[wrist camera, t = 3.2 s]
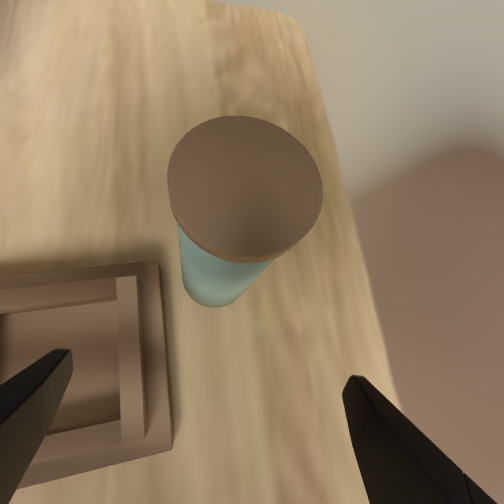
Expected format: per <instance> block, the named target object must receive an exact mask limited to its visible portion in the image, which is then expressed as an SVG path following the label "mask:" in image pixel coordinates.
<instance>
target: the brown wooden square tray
mask: <svg viewBox="0 0 504 504" xmlns="http://www.w3.org/2000/svg"><path fill="white" fill-rule="evenodd" d="M55 348H65V349H70V350H71V351H72V357H73V374H72V377H71V379H70V381H69V384H68V386H67V389H66V391H65V393H64V396H63V398H62V400H61V403H60V405H59V407H58V410H57V412H56V414H55V417H54V419H53V421H52V424H51V426H50V428H49V430H48V432H47V434H46V436H45V438H44V440H43V442H42V443H41V445H40V447H39V449H38V451H37V453H36V454H35V456H34V458H33V460H32V462H31V464H30V465H29V467H28V469H27V471H26V473H25V474H24V476H23V478H22V480H21V482H20V484H19V485H18V487H17V489H20V488H24V487H28V486H31V485H35V484H39V483H43V482H47V481H51V480H55V479H59V478H63V477H67V476H71V475H75V474H79V473H83V472H87V471H91V470H95V469H99V468H103V467H107V466H110V465H114V464H118V463H122V462H126V461H130V460H134V459H138V458H142V457H146V456H150V455H154V454H158V453H162V452H166V451H170V450H172V447H173V433H172V420H171V406H170V393H169V380H168V367H167V354H166V341H165V328H164V315H163V302H162V289H161V276H160V266H159V263H158V261H151V262H141V263H130V264H120V265H110V266H100V267H89V268H79V269H69V270H59V271H48V272H38V273H28V274H18V275H7V276H0V385H1V384H2V383H4V382H5V381H7V380H8V379H10V378H11V377H13V376H14V375H16V374H17V373H19V372H20V371H22V370H23V369H25V368H26V367H28V366H29V365H31V364H32V363H34V362H35V361H37V360H38V359H40V358H41V357H43V356H44V355H46V354H47V353H49V352H50V351H52V350H53V349H55Z"/></svg>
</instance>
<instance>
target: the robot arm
mask: <svg viewBox="0 0 504 504" xmlns="http://www.w3.org/2000/svg"><path fill="white" fill-rule="evenodd" d="M72 374H73V357H72V351H71V350H70V349H65V348H55V349H53V350H52V351H50V352H49V353H47V354H46V355H44V356H43V357H41V358H40V359H38V360H37V361H35V362H34V363H32V364H31V365H29V366H28V367H26V368H25V369H23V370H22V371H20V372H19V373H17V374H16V375H14V376H13V377H11V378H10V379H8V380H7V381H5V382H4V383H2V384H1V385H0V504H9V502H10V500H11V498H12V496H13V494H14V493H15V491H16V489H17V487H18V485H19V484H20V482H21V480H22V478H23V476H24V474H25V473H26V471H27V469H28V467H29V465H30V464H31V462H32V460H33V458H34V456H35V454H36V453H37V451H38V449H39V447H40V445H41V443H42V442H43V440H44V438H45V436H46V434H47V432H48V430H49V428H50V426H51V424H52V421H53V419H54V417H55V414H56V412H57V410H58V407H59V405H60V403H61V400H62V398H63V396H64V393H65V391H66V389H67V386H68V384H69V381H70V379H71V377H72ZM342 398H343V403H344V408H345V413H346V418H347V423H348V428H349V432H350V437H351V442H352V446H353V449H354V453H355V456H356V459H357V463H358V466H359V469H360V473H361V476H362V479H363V483H364V486H365V489H366V493H367V496H368V499H369V502H370V504H497V503H496V502H495V501H494V500H493V499H492V498H491V497H490V496H488V495H487V494H486V493H485V492H484V491H483V490H482V489H481V488H480V487H479V486H478V485H477V484H476V483H475V482H474V481H473V480H471V479H470V478H469V477H468V476H467V475H466V474H465V473H463V471H462V470H461V469H460V468H459V467H458V466H456V464H455V463H454V462H453V461H451V459H449V458H448V457H447V456H446V455H445V454H444V453H443V452H442V451H441V450H440V449H439V448H438V447H437V446H436V445H435V444H434V443H433V442H432V441H430V439H429V438H428V437H426V436H425V435H424V434H423V433H422V432H421V431H420V430H419V429H418V428H417V427H416V426H415V425H414V424H413V423H412V422H411V421H410V420H409V419H408V418H407V417H406V416H405V415H403V414H402V413H401V412H400V411H399V410H398V409H397V408H396V407H395V406H394V405H393V404H392V403H391V402H390V401H389V400H388V399H387V398H386V397H385V396H384V395H383V394H381V393H380V392H379V391H378V390H377V389H376V388H375V387H374V386H373V385H372V384H371V383H370V382H369V381H368V380H367V379H366V378H365V377H363V376H358V375H352V376H350V378H349V379H348V381H347V383H346V385H345V387H344V389H343V393H342Z"/></svg>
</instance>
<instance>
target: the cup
mask: <svg viewBox="0 0 504 504" xmlns="http://www.w3.org/2000/svg"><path fill="white" fill-rule="evenodd" d="M167 174H168V189H169V197H170V203H171V208H172V211H173V214H174V217H175V219H176V221H177V223H178V232H179V244H180V255H181V266H182V278H183V284H184V287H185V289H186V291H187V293H188V294H189V296H190V297H191V298H192V299H193V300H194V301H196V302H197V303H199V304H201V305H204V306H207V307H222V306H225V305H228V304H230V303H231V302H233V301H234V300H235V299H237V298H238V297H239V296H240V294H241V293H242V292H243V291H244V290H245V289H246V288H247V287H248V286H249V285H250V284H251V283H252V282H253V281H254V280H255V279H256V278H257V277H258V276H259V275H260V273H261V272H262V271H263V270H264V269H265V268H266V267H267V266H268V265H269V264H270V263H271V262H272V261H273V260H274V259H275V258H276V257H278V256H280V255H283V254H284V253H286V252H287V251H289V250H290V249H291V248H292V247H293V246H294V245H296V244H297V243H298V242H299V241H300V240H301V239H302V238H303V237H304V236H305V235H306V234H307V233H308V231H309V230H310V229H311V228H312V226H313V225H314V223H315V221H316V220H317V217H318V215H319V212H320V209H321V204H322V195H323V193H322V183H321V178H320V174H319V171H318V169H317V166H316V164H315V162H314V160H313V159H312V157H311V156H310V154H309V153H308V151H307V150H306V149H305V148H304V146H303V145H302V144H301V143H300V142H299V141H298V140H297V139H296V138H294V137H293V136H292V135H291V134H289V133H288V132H286V131H285V130H283V129H282V128H280V127H278V126H276V125H274V124H272V123H269V122H267V121H264V120H260V119H257V118H252V117H246V116H226V117H219V118H215V119H212V120H209V121H206V122H204V123H201V124H200V125H198V126H196V127H194V128H193V129H192V130H190V131H189V132H188V133H187V134H186V135H185V136H184V137H183V138H182V139H181V140H180V141H179V143H178V144H177V146H176V147H175V149H174V151H173V153H172V155H171V158H170V161H169V166H168V173H167Z"/></svg>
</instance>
